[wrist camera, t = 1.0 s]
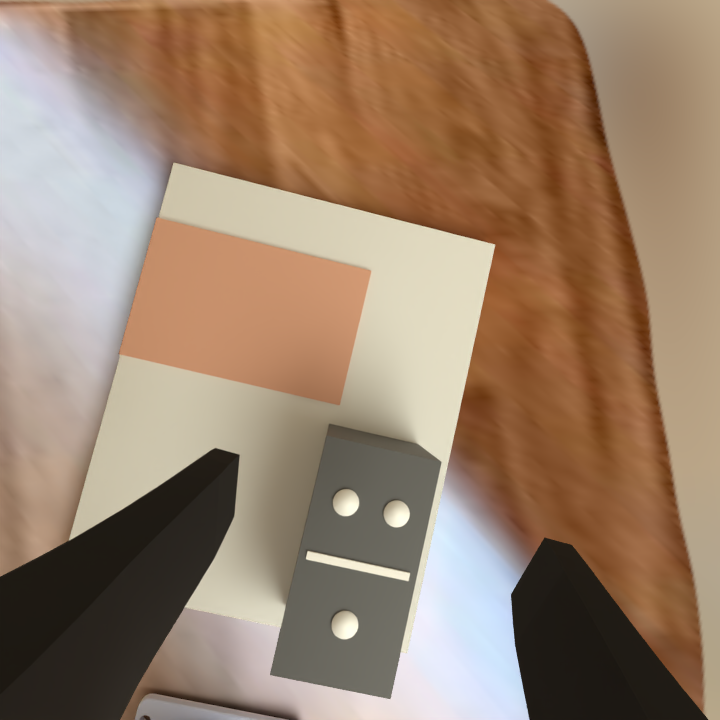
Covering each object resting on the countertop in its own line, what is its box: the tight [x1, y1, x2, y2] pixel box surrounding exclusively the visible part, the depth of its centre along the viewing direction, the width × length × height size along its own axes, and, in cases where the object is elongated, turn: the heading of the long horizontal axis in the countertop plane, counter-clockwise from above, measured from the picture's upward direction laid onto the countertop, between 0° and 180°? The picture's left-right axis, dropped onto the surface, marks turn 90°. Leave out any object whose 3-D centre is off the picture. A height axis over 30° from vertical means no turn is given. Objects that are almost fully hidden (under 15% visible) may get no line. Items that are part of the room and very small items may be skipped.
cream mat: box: [69, 163, 495, 653], centre depth 20 cm, size 21×17×1 cm
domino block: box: [270, 424, 442, 699], centre depth 17 cm, size 9×5×5 cm, turn 167°
